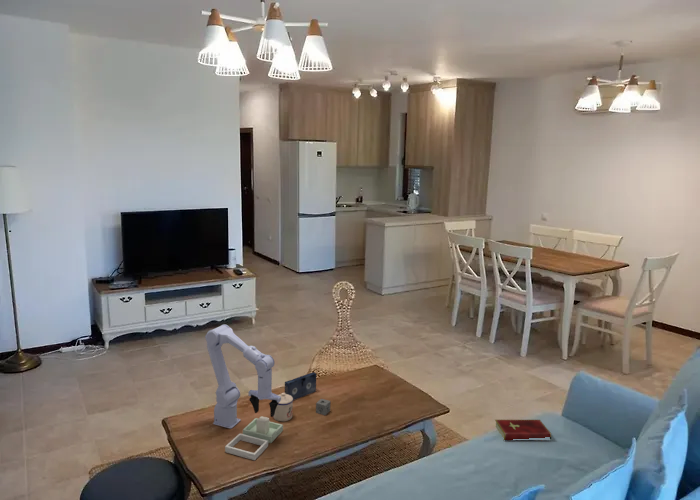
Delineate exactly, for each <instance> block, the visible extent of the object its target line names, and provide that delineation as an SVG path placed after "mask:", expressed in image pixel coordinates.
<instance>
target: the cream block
mask: <svg viewBox="0 0 700 500" xmlns="http://www.w3.org/2000/svg"><path fill="white" fill-rule="evenodd" d="M269 421H270V417H267V416H259V418H258V420H257V421H256V432H258V433H262V434H265V435H266V434H267V433H268V432H269Z"/></svg>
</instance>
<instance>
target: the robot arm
mask: <svg viewBox="0 0 700 500" xmlns="http://www.w3.org/2000/svg"><path fill="white" fill-rule="evenodd" d="M204 338H205V341H206V347H207V348H206V349H207V352H208V355H209V358H210V361H211V365H212V369H213V372H214V374H215V377H216V378H215V379H216V382H217V385H218V386H217V388H216V390H215V395H216V397H215V399H216V404H215V405H214V409H213V422H212V424H213V425H215V426H219V427H224V428H225V429H226V428H227V429H230V430H231V429H233V428H234V427H235V426H236V425H238V423H240V422H241V418H238V415H237V414H238V406H237V405H238V404H237V403H238V401H239V399H240V397H241V391H240V389H239V387H237V384H236V383H235V382H234V381H232V380H231V377H230V375H229V371H228V366H227V364H226V360H225V357H224V354H223V351H222V346H223V344H230V346H232V347H234V348H235V349H237V350H238V351H239V352H241V353H242V354H243V358H245V359H246V360H248V362H250V363H251V364H252V365H254V368H255V370H256V373H257V389H256V390H255V389H250V390H248V397H250V398H248V400H249V402H250V404H251V406H252V407H253V411H254V414H257V413H258V412H259V409H260V401H263V400H270V402H269V403H268V405H269V408H270V409H269V411H270V414H269V415H270V417H271V418H274V417H273V416H274V414H275V410H276V407H277V405H278V403H279V402H280V401H281V396H278V395H279V394H276V393H274V392H272V391H273V390H272V387H273V386H272V384H273V383H272V382H273V381H272V377H273V375H272V374H273V373H272V370H273V369H272V368H274V366H275V359H274V358H273V356H272V355H270V354H265V353H263V352H261V351H260V350H258V349H257V347H256V346H255V345H248V344H247V343H245V341H244V340H242V339H241V338H240V337H239V336H237V334H236V333H234V330H233V328H232V327H230V326H229V325H227V324H225V323H224V324H221V325H220V326H218V327H215V328H213V329H209V330H208V331H207V333H206V334H205V336H204Z"/></svg>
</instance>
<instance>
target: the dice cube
mask: <svg viewBox="0 0 700 500" xmlns="http://www.w3.org/2000/svg"><path fill="white" fill-rule="evenodd" d="M330 412H331V400H328V399H324V398H320V399H319V400H318V401H317V402H316V403H315V413H316V414H318V415H322V416H326V415H328V414H329V413H330Z"/></svg>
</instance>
